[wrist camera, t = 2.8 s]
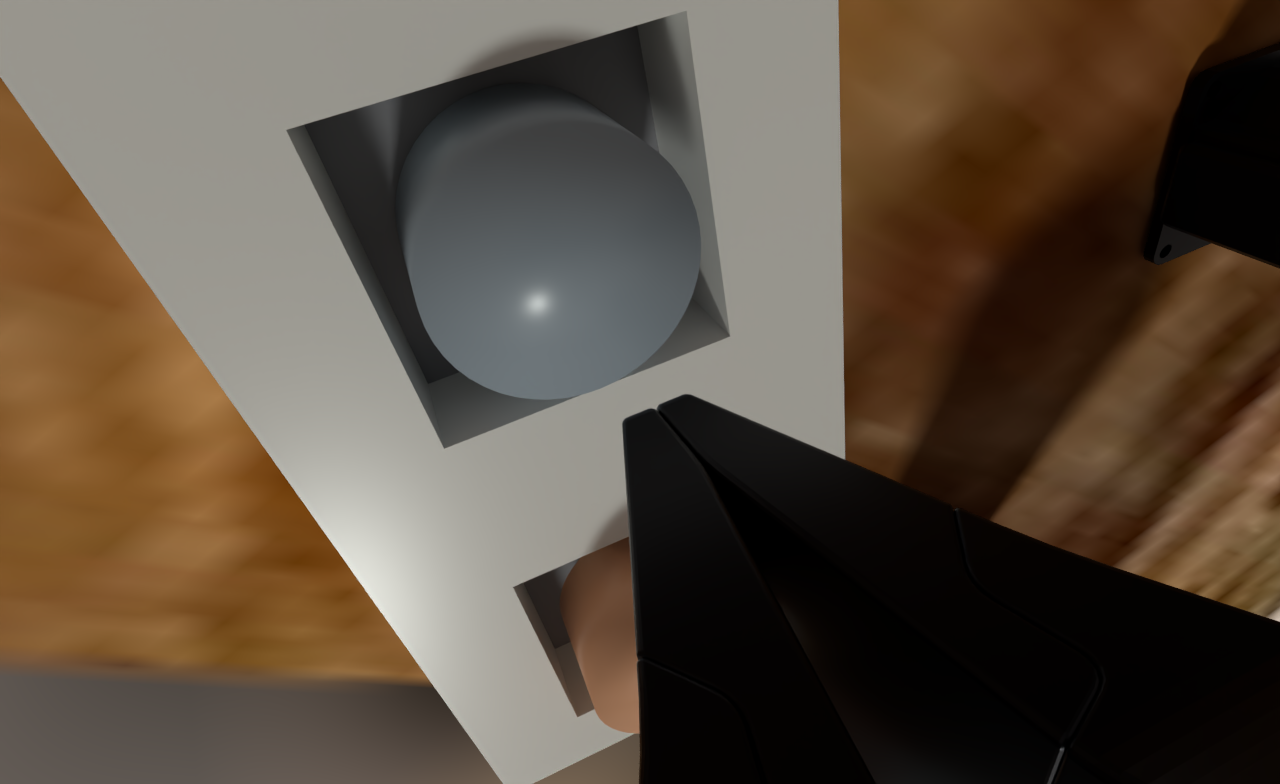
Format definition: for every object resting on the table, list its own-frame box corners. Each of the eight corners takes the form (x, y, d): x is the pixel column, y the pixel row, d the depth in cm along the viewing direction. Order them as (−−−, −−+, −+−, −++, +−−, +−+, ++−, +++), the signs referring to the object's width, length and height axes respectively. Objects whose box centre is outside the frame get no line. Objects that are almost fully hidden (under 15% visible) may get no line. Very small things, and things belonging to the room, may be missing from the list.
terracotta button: (712, 488, 19) (767, 567, 17) (731, 597, 22) (780, 677, 20) (538, 563, 18) (570, 658, 16) (583, 666, 21) (616, 758, 19)
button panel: (715, -186, 14) (834, -213, 10) (786, 546, 27) (847, 629, 24) (47, -21, 11) (-50, 6, 8) (485, 684, 25) (510, 794, 22)
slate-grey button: (613, 49, 13) (677, 79, 11) (659, 281, 16) (717, 342, 14) (348, 129, 12) (358, 180, 10) (449, 358, 15) (474, 438, 13)
